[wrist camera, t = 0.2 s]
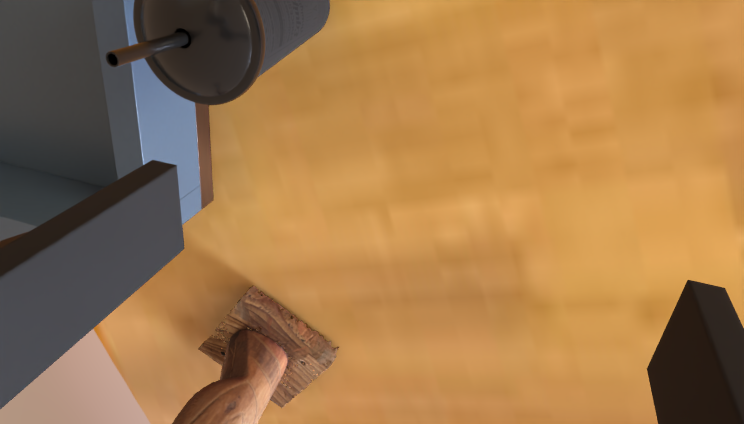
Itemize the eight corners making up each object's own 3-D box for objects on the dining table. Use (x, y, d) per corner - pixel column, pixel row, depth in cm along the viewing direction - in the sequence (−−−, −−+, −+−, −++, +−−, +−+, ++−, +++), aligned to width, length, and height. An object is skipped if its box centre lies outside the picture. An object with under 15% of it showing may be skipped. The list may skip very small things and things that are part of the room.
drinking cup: (242, -49, 40) (10, -30, 23) (340, -60, 38) (163, -48, 21) (262, 58, 43) (72, 144, 26) (353, 53, 41) (209, 144, 24)
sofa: (-48, -56, 47) (-235, -50, 36) (202, -19, 42) (75, 2, 31) (3, 149, 56) (-132, 204, 45) (213, 200, 51) (119, 276, 40)
